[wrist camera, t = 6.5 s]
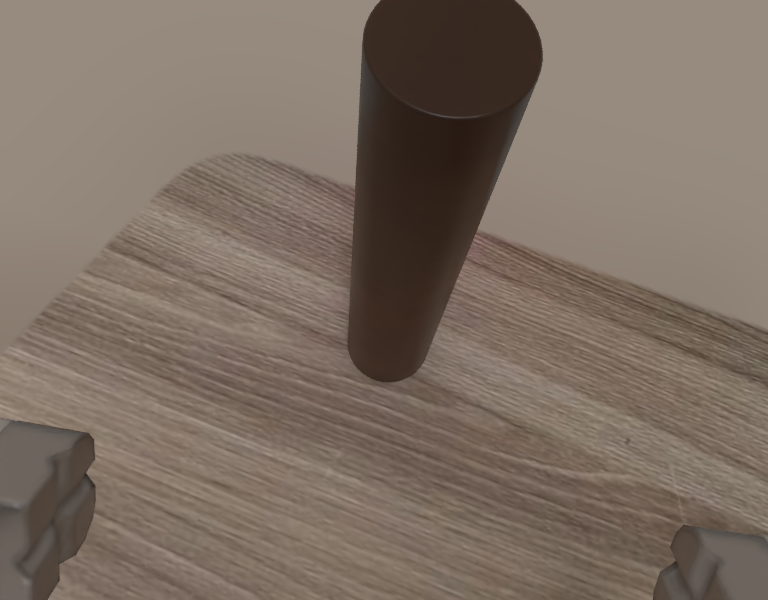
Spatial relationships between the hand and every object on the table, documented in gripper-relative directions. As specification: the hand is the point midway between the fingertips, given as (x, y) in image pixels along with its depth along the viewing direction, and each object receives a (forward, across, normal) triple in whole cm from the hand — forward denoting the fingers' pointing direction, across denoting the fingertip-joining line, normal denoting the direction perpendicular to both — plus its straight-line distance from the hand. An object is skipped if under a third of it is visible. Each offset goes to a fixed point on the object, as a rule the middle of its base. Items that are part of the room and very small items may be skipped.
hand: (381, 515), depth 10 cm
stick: (+16, 0, +5) cm, 17 cm away
